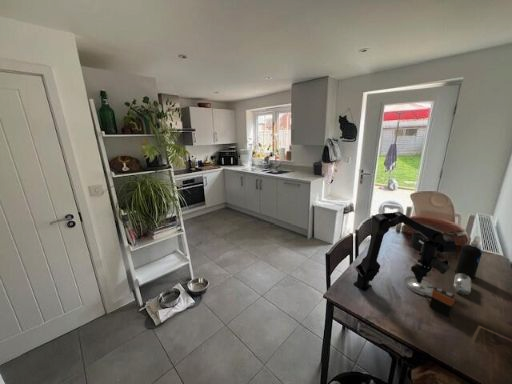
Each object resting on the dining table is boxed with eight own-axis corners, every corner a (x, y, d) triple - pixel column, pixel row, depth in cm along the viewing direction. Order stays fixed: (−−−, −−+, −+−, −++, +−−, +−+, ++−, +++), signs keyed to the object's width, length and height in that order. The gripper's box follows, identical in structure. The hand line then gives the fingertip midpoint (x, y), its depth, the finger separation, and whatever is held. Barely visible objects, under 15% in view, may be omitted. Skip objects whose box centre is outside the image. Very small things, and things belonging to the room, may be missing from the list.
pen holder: (425, 253, 136) (428, 239, 133) (408, 247, 142) (411, 234, 140) (428, 247, 142) (431, 234, 139) (411, 243, 148) (414, 230, 146)
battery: (448, 317, 88) (453, 298, 85) (428, 307, 94) (433, 288, 91) (451, 312, 90) (456, 293, 88) (432, 302, 96) (436, 284, 93)
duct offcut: (469, 297, 99) (472, 286, 97) (452, 290, 103) (454, 280, 101) (469, 286, 105) (472, 276, 104) (453, 281, 109) (456, 271, 108)
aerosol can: (457, 276, 112) (466, 244, 107) (452, 268, 119) (460, 237, 114) (478, 281, 109) (488, 248, 103) (471, 272, 116) (480, 240, 110)
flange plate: (432, 301, 96) (433, 299, 96) (399, 284, 108) (399, 282, 107) (442, 289, 104) (443, 287, 103) (410, 274, 115) (411, 272, 115)
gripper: (443, 267, 89) (435, 296, 93) (456, 253, 99) (449, 280, 103) (413, 255, 98) (407, 283, 102) (428, 243, 108) (422, 269, 112)
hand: (422, 279), depth 104 cm, fingers open, 9 cm apart
